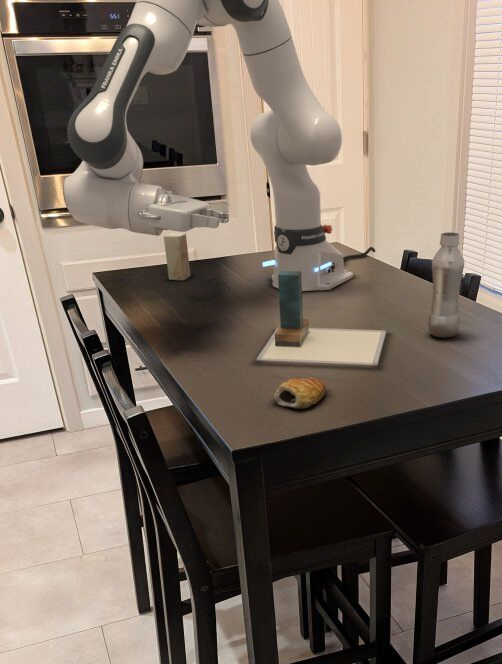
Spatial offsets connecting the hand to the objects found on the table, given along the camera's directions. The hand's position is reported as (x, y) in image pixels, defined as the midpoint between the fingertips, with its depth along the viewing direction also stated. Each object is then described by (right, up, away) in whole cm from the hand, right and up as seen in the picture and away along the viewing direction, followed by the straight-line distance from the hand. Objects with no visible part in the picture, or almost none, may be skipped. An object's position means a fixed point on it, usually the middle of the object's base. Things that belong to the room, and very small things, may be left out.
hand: (223, 220), depth 137 cm
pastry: (+15, -37, -15) cm, 43 cm away
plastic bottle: (+44, -19, +12) cm, 49 cm away
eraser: (+13, -20, +9) cm, 25 cm away
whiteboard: (+19, -23, +6) cm, 30 cm away
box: (-20, +6, +54) cm, 58 cm away
